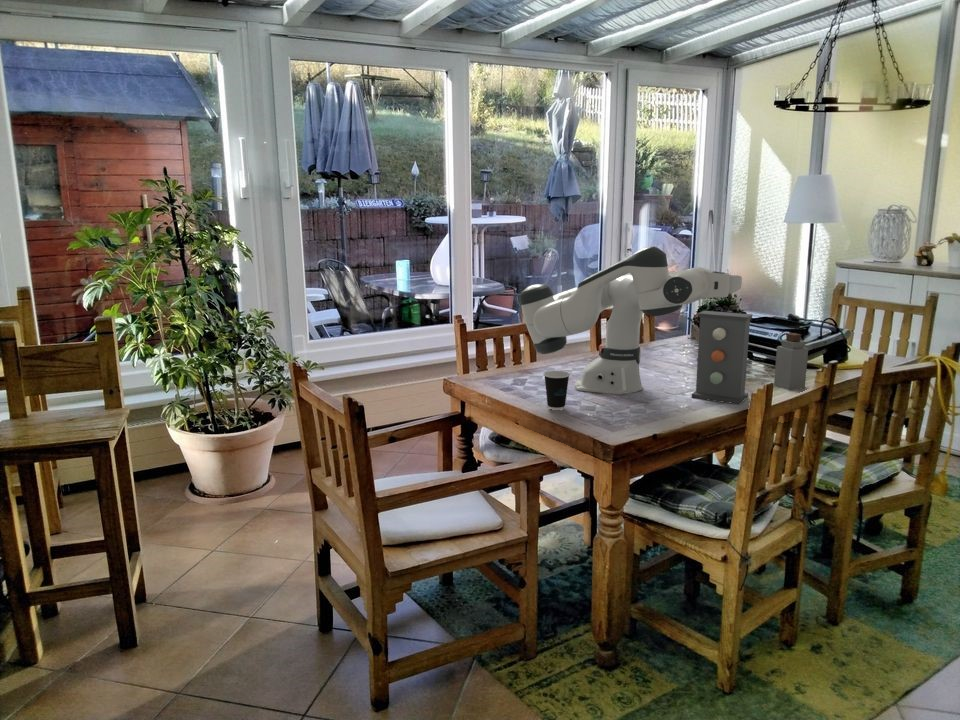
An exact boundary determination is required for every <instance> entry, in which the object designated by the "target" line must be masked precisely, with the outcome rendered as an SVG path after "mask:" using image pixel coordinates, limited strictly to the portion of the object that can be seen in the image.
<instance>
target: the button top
mask: <svg viewBox="0 0 960 720" xmlns="http://www.w3.org/2000/svg"><path fill="white" fill-rule="evenodd" d="M725 336H726V331H725V329H723V328H717V329H715V330H714V331H713V337H714V339H716V340H722V339H723V338H725Z"/></svg>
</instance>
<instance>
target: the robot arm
mask: <svg viewBox="0 0 960 720" xmlns="http://www.w3.org/2000/svg"><path fill="white" fill-rule="evenodd" d="M667 259H668V258H667V254H666V252H664V251H663V250H662V249H660V248H659V247H657V246H646V247H643V248H640V249H639V250H637V251H635V252H634V253H632V254H631V255H629V256H628V257H625V258H623V259H622V260H620V261H618V262H614V264H611V265H610V266H607V267H605V268H603V269H601V270H599V271H597V272H595V273H593V274H592V275H589V276H588V277H586V278H584V279H583V280H581V281H580V282H579V283H578V284H577V286H576V287H573V288H570V289H566V290H564V291H560V292H559V293H555V294H554V292H553V291H552V289H551V287H549V286H548V285H546V284H545V283H543V284H541V283H536V284H531V285H528V286H527V287H526V288H524V290H522V291H521V292H520V294H519V295H518V296H519V305H520V306H521V311H522V316H523V319H524V324H525V326H526V328H527V330H528V333H529V335H530V337H531V340H532V342H533V343H532V345H533V347H534V349H535V351H536V352H537V353H538V354H541V355H554V354H557V353H558V352H560V351H561V350H563V349H564V348H565V347H566V345H567V337H569V336H574V335H578V334H581V333H584V332H587V331H589V330H591V329H592V328H593V327H594V326H595V325H596V323H597V321H598V319H599V317H600V314H601V313H602V312H603V311H605V310H606V309H609V308H610V307H612V310H611V314H610V317H609V319H608V320H607V321H606V324H605V345H604V344H602V343H601V344H600V345H599V346H598V357H596V358H595V359H593V360H592V361H591V362H589V363H588V364H587V365H585V366H584V368H583V370H582V373H581V378H579V379H577V380H576V381H575V382H574V388H575V390H577V391H583V392H592V393H599V394H600V393H601V394H608V395H609V394H610V395H611V394H612V395H625V394H628V393H636V392H640V391H641V390H643V384H642V380H641V374H640V362H641V346H640V336H641V333H640V332H641V331H640V329H641V322H642V318H643V314H646V315H648V316H650V317H660V316H665V315H669V314H671V313H674V312H676V311H679V310H680V309H681V308H682V307H683V305H684V306H685V305H689V304H692V303H695V302H697V301H699V300H707V299H715V298H718V299H719V298H727V297H728V296H729V295H730V294H734V293H736V292H738V291H740V290H741V288H742V284H743V283H742V282H743V278H742V276H741V275H738V274H737V275H736V274H730V273H729V272H722V271H715V270H711V269H708V268H705V267H701V266H696V267H691V268H688V269H685V270H681V271H678V272H669V271H670V270H669V268H668V267H669V265H668V260H667Z"/></svg>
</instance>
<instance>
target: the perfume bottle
mask: <svg viewBox="0 0 960 720" xmlns="http://www.w3.org/2000/svg"><path fill="white" fill-rule="evenodd" d="M785 336H786V339H780V342H781V345H778V346H776V355H775V356H776V357H775V369H774V379H773V386H774V385H775V387H778V388H780V389H784V390H787V391H794V390H795V391H796V390H801V389H800V388H802V389H805V388H806V377H807V367H808V357H809V355H808V354H809V348H808V347H805V345H806V341H804V340H801V338H802V334H801V333H796V332H789V333H786V335H785Z"/></svg>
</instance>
